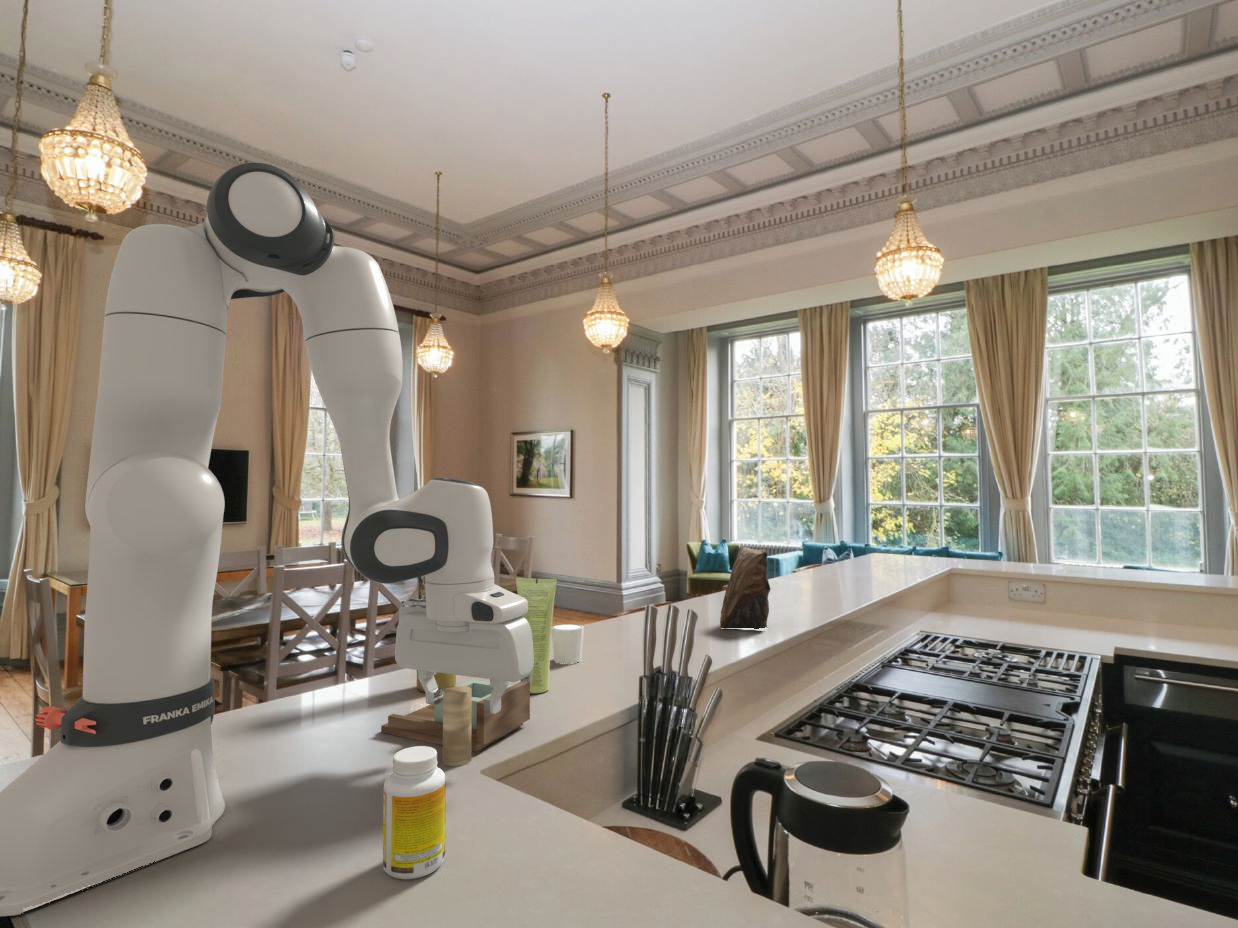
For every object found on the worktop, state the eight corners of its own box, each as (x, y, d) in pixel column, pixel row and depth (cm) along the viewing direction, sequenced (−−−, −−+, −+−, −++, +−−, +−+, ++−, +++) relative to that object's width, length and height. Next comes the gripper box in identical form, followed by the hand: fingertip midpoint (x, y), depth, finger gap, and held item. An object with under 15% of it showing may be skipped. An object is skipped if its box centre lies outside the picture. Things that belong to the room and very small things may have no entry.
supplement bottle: (456, 864, 62) (457, 752, 62) (402, 890, 58) (403, 771, 58) (425, 842, 66) (425, 737, 66) (371, 866, 62) (372, 754, 62)
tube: (545, 684, 120) (545, 575, 121) (557, 691, 115) (557, 578, 116) (515, 688, 117) (515, 577, 118) (526, 696, 112) (527, 580, 113)
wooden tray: (483, 752, 88) (483, 703, 88) (381, 732, 96) (381, 687, 96) (529, 725, 98) (529, 681, 99) (433, 709, 106) (433, 668, 106)
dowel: (459, 767, 83) (459, 695, 84) (436, 763, 85) (437, 692, 85) (476, 757, 87) (477, 688, 87) (455, 753, 88) (455, 684, 89)
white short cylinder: (547, 658, 138) (547, 624, 139) (579, 655, 140) (579, 622, 141) (554, 666, 132) (554, 631, 132) (588, 663, 134) (587, 628, 134)
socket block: (482, 739, 90) (482, 702, 90) (434, 730, 94) (434, 694, 94) (517, 720, 98) (517, 685, 98) (471, 712, 101) (471, 679, 101)
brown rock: (736, 620, 178) (735, 545, 179) (782, 625, 171) (781, 547, 172) (717, 628, 167) (716, 549, 168) (765, 634, 160) (764, 551, 161)
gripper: (382, 601, 88) (384, 705, 88) (511, 610, 80) (513, 726, 79) (415, 593, 94) (417, 691, 94) (538, 601, 86) (541, 708, 85)
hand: (462, 707), depth 87 cm, fingers open, 8 cm apart
